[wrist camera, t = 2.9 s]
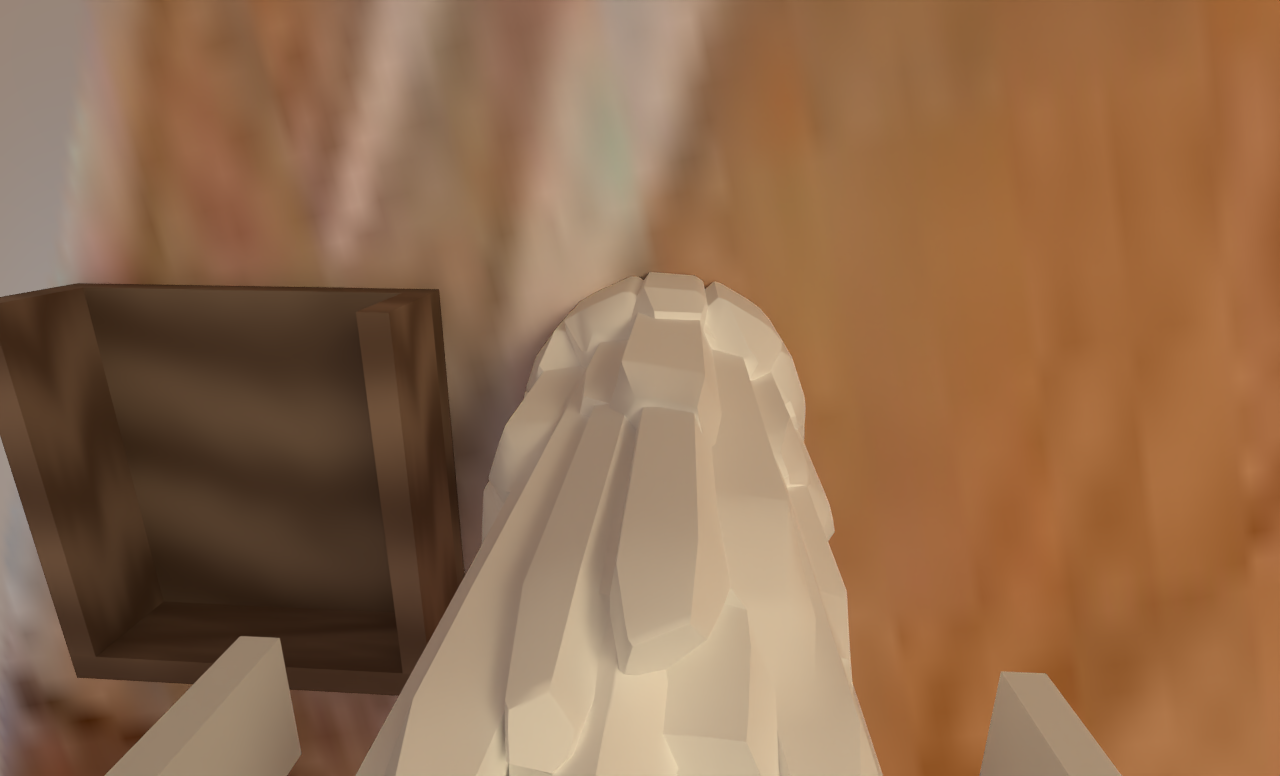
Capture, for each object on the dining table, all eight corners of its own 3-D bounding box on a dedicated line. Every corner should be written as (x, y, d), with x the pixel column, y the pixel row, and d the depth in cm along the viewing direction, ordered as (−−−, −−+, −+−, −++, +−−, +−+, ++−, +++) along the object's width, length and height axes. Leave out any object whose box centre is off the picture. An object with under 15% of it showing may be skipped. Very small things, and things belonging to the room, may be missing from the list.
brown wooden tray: (77, 283, 29) (-42, 304, 24) (438, 289, 28) (388, 312, 23) (161, 608, 34) (77, 677, 30) (468, 623, 33) (432, 697, 29)
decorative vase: (534, 276, 28) (-374, 876, 4) (791, 265, 27) (1591, 947, 3) (557, 507, 31) (135, 1588, 7) (786, 504, 30) (1158, 1714, 6)
